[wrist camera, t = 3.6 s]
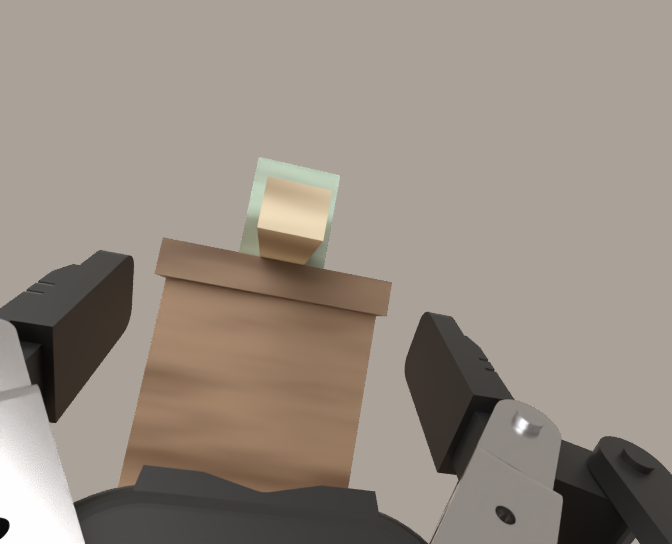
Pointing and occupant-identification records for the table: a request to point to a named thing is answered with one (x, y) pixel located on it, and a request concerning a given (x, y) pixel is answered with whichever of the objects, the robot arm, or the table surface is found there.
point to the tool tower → (254, 369)
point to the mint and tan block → (290, 213)
